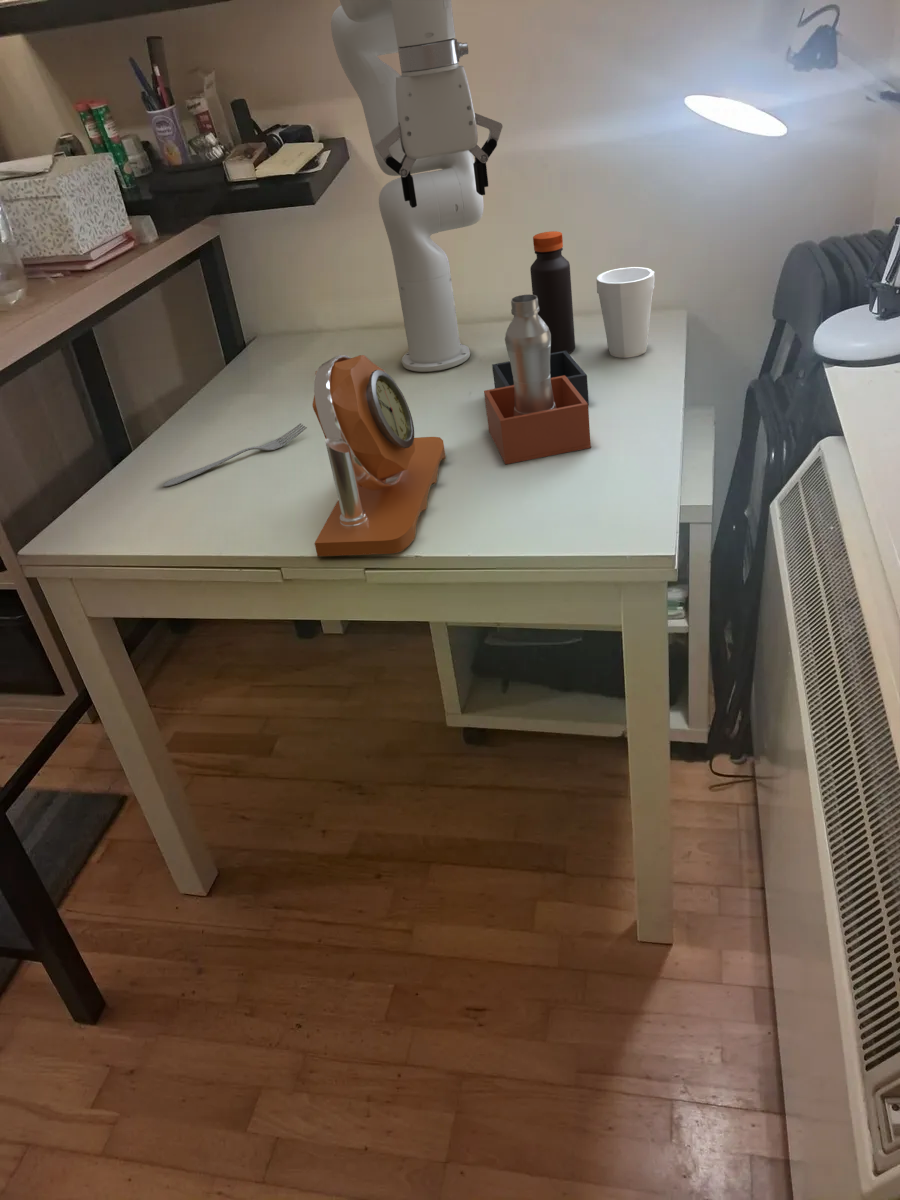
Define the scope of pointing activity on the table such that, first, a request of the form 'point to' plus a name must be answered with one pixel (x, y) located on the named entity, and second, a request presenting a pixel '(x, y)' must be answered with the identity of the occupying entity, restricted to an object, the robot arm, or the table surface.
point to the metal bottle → (529, 357)
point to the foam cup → (626, 309)
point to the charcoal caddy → (558, 367)
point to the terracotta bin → (538, 424)
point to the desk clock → (371, 459)
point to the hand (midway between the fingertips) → (447, 199)
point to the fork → (268, 446)
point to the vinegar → (553, 290)
